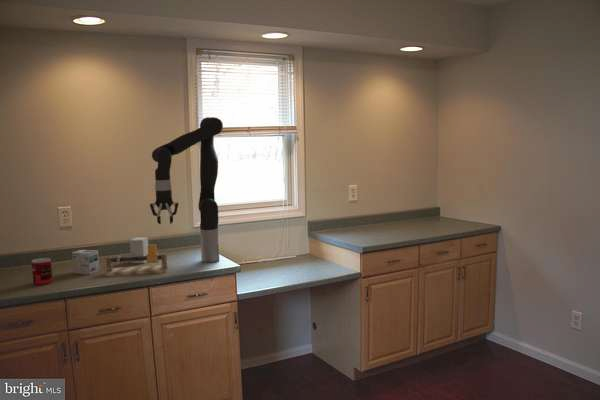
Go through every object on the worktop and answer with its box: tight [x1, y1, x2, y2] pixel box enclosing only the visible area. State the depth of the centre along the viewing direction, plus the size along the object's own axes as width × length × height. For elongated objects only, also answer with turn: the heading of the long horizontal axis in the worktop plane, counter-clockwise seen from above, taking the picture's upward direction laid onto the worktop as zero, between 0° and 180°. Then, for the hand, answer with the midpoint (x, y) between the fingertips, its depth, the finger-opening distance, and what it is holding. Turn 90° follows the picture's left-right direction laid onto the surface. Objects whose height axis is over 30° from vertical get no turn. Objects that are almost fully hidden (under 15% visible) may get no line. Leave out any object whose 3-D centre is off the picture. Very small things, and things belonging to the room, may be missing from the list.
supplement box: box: [128, 237, 149, 264], centre depth 260 cm, size 7×7×13 cm
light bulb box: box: [71, 249, 101, 276], centre depth 241 cm, size 11×7×11 cm, turn 71°
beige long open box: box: [105, 253, 169, 277], centre depth 241 cm, size 28×10×8 cm, turn 99°
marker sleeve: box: [146, 244, 159, 264], centre depth 242 cm, size 5×4×9 cm
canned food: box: [31, 257, 54, 286], centre depth 224 cm, size 8×8×11 cm
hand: (165, 223), depth 241 cm, fingers open, 4 cm apart
